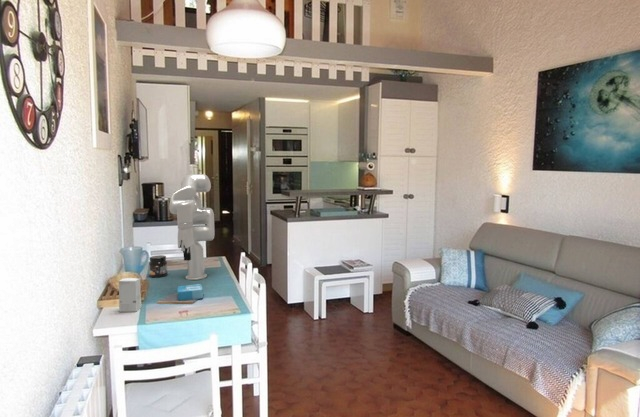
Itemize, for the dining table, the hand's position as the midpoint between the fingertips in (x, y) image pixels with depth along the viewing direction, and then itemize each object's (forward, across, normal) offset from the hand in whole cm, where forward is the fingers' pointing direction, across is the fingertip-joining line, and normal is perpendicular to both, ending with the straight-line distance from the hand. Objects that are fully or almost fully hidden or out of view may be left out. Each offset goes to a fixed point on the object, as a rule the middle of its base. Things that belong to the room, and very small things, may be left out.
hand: (187, 260), depth 235 cm
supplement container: (+20, -36, -36) cm, 55 cm away
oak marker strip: (+17, +18, 0) cm, 25 cm away
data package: (+15, +3, +1) cm, 15 cm away
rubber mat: (+17, +11, 0) cm, 20 cm away
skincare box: (+17, +29, -16) cm, 37 cm away
